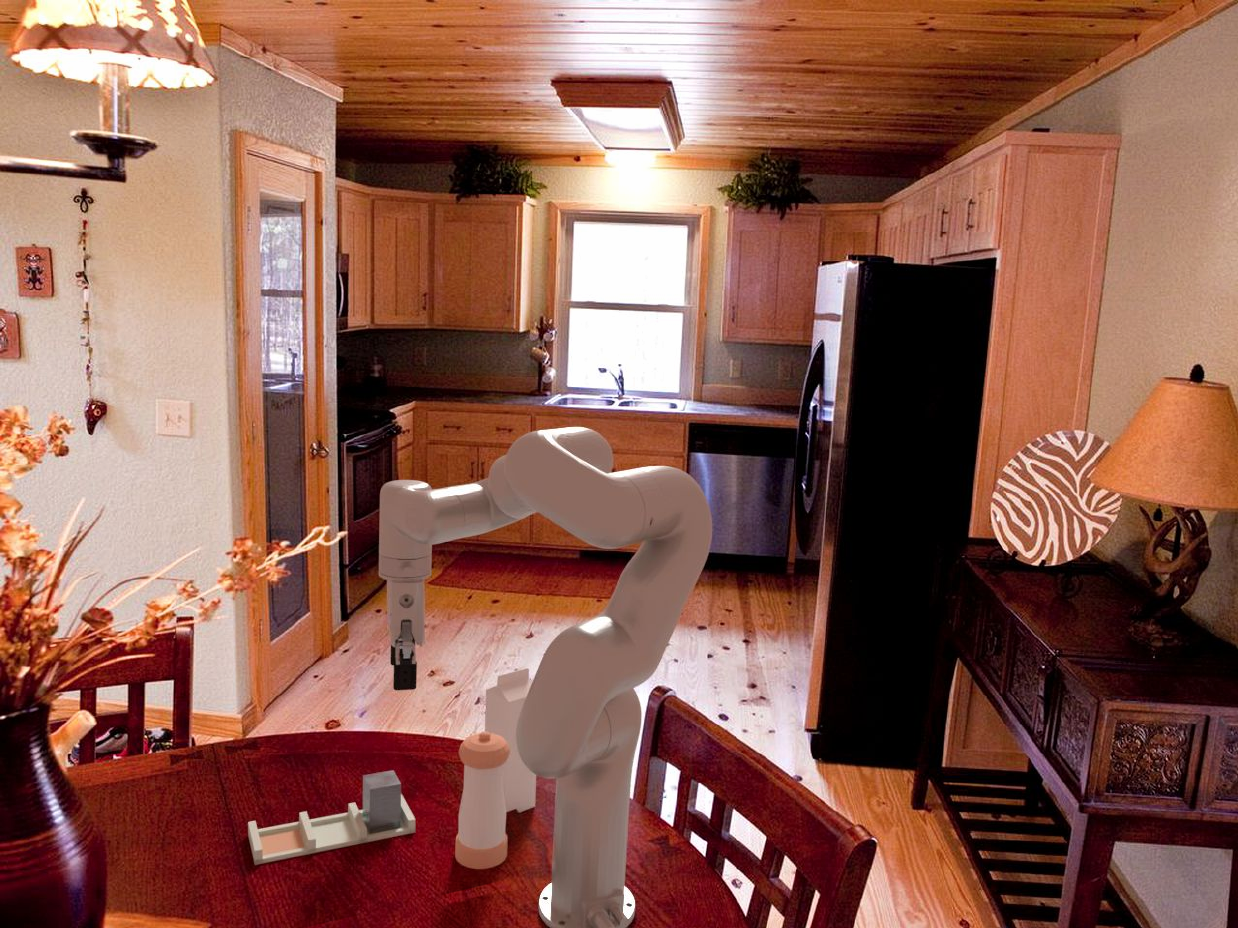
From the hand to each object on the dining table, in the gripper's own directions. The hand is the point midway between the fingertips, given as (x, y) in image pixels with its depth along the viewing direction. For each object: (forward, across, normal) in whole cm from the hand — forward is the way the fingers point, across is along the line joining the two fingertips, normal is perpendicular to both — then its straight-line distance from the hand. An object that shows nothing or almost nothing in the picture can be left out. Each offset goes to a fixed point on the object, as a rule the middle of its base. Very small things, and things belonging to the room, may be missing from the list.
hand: (402, 676), depth 142 cm
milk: (+22, 0, -17) cm, 28 cm away
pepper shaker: (+22, -15, -10) cm, 29 cm away
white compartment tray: (+22, -5, +10) cm, 25 cm away
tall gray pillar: (+21, -4, +3) cm, 22 cm away
